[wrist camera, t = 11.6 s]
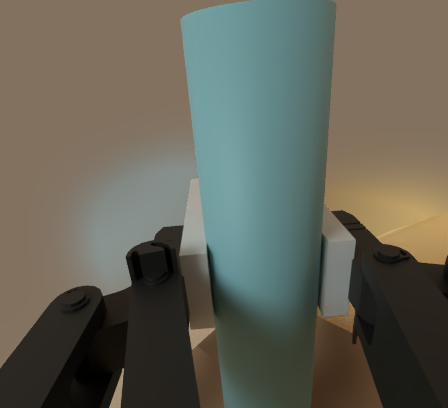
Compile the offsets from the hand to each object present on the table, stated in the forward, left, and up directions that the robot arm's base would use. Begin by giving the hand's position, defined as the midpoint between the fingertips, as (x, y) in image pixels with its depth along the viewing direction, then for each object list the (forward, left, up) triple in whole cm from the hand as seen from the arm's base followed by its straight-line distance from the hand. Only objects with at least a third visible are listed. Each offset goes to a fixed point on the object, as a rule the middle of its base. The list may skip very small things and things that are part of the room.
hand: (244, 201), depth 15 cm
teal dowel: (-4, +4, -9) cm, 11 cm away
